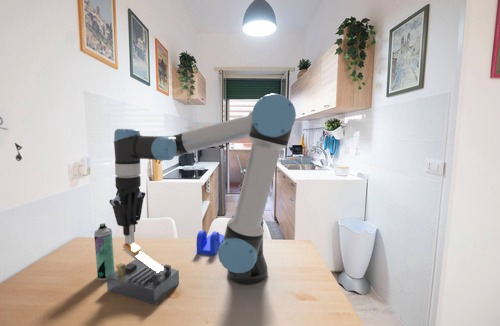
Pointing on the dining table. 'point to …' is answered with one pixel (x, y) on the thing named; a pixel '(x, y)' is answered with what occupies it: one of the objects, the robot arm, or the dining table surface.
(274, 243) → the dining table surface
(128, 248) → the bar
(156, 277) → the finned block
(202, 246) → the bracket
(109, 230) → the spray can
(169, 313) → the dining table surface
